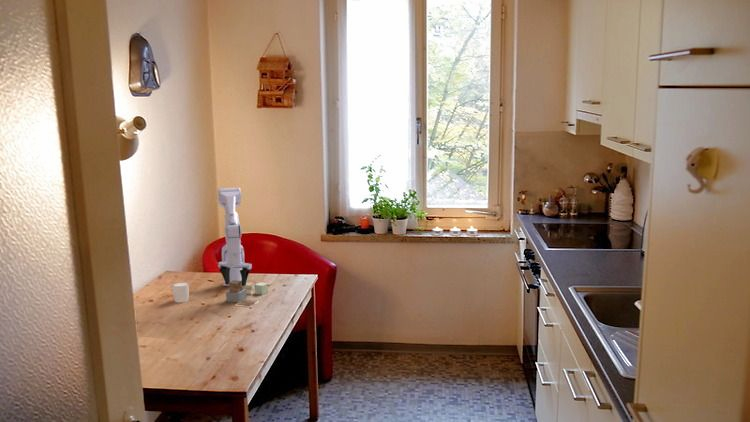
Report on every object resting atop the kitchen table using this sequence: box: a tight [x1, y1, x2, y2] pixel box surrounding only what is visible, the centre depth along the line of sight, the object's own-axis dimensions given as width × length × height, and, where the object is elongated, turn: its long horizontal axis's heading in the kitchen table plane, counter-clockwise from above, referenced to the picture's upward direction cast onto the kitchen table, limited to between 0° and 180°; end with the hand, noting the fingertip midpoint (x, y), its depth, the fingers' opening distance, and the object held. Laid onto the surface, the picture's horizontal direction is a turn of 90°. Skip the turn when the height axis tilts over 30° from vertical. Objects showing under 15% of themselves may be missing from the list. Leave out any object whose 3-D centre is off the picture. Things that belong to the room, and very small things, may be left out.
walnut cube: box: [228, 280, 243, 293], centre depth 278 cm, size 4×4×4 cm
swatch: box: [234, 299, 260, 308], centre depth 273 cm, size 7×7×1 cm
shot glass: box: [171, 281, 190, 304], centre depth 278 cm, size 7×7×7 cm
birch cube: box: [243, 281, 255, 295], centre depth 288 cm, size 4×4×4 cm
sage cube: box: [254, 281, 269, 296], centre depth 287 cm, size 4×4×4 cm
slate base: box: [225, 289, 248, 303], centre depth 279 cm, size 6×6×4 cm
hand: (235, 284), depth 278 cm, fingers open, 7 cm apart
